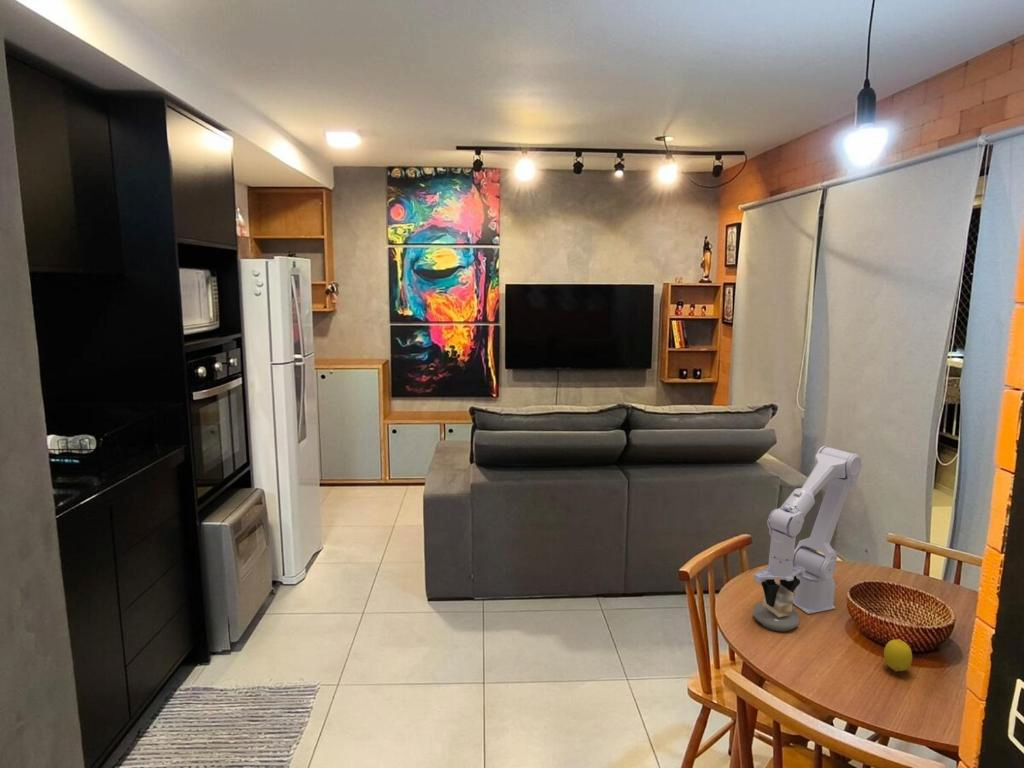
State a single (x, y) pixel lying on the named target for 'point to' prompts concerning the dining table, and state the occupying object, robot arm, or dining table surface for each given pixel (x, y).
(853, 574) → the dining table surface
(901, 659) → the lemon
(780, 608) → the block
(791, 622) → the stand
